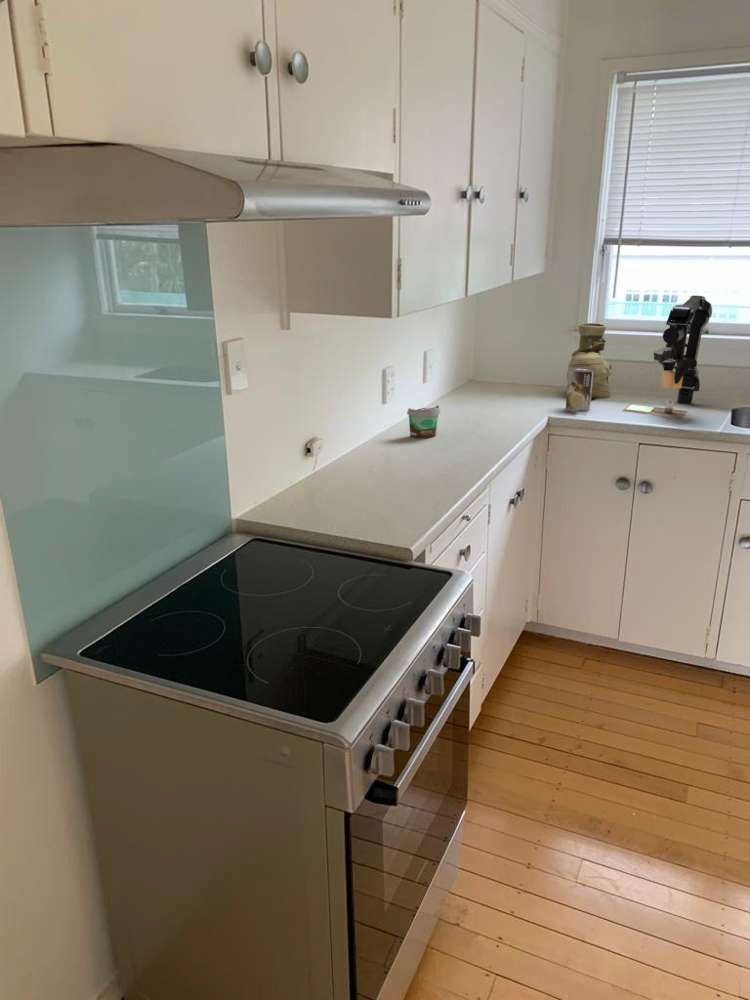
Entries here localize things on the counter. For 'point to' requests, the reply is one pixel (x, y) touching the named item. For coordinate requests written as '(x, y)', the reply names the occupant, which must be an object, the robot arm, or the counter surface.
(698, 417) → the counter surface
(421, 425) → the food container
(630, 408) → the pad
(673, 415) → the board
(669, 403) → the clear cylinder
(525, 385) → the counter surface
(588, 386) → the coffee box
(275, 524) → the counter surface
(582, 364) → the ceramic vessel
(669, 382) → the box
